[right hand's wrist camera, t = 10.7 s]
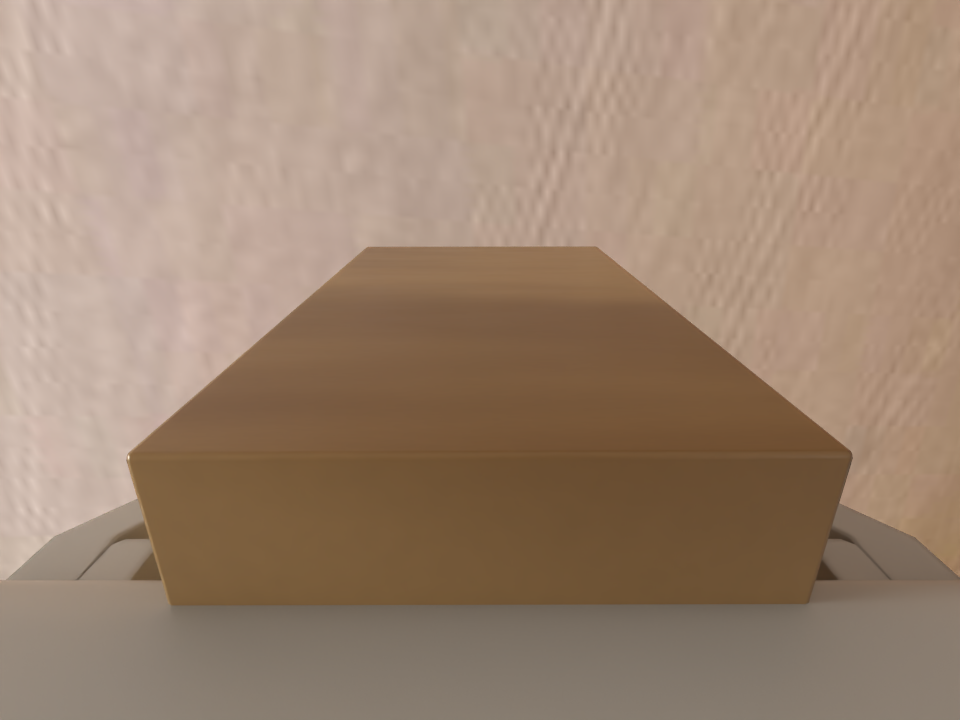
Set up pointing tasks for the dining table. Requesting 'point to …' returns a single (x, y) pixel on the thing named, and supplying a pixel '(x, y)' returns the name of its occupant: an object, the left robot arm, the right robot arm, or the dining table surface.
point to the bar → (487, 449)
